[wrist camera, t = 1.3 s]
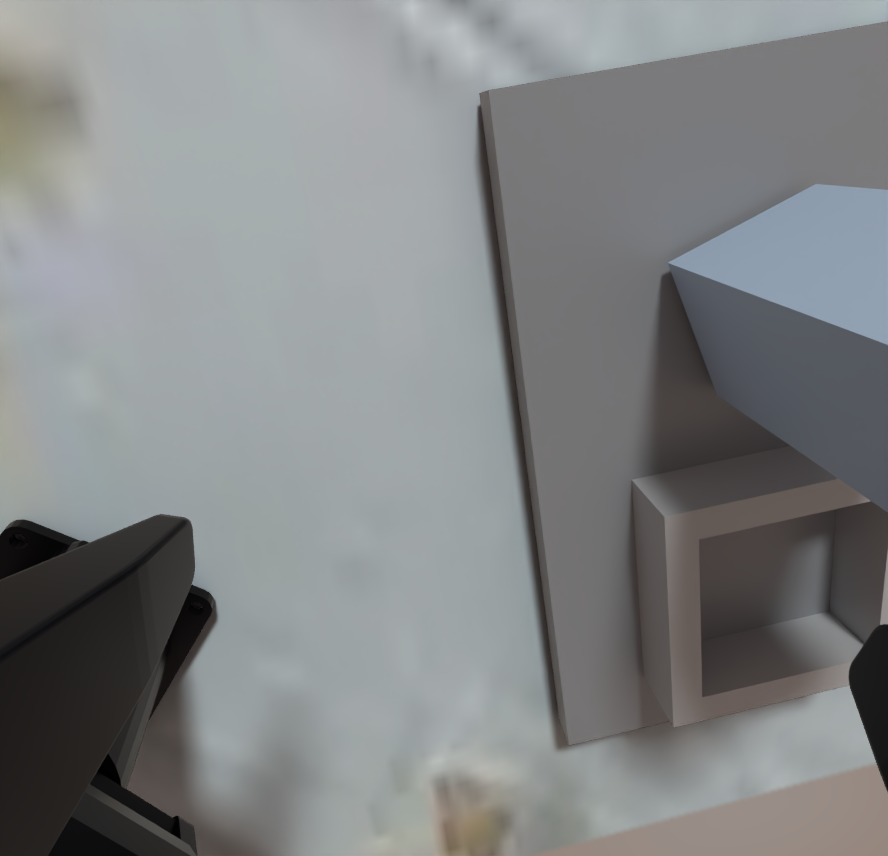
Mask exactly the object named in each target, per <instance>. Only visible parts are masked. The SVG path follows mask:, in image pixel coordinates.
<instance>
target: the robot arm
mask: <svg viewBox="0 0 888 856" xmlns="http://www.w3.org/2000/svg"><path fill="white" fill-rule="evenodd" d="M16 533H17V534H22V535H24V536H25V537H26V538H27V540H28V541H27V542H24V541H20V540H18V539H17V538H16V536H15V535H14V534H16ZM194 572H195V557H194V543H193V529H192V524H191V522H190V521H189V520H188V519H187V518H184V517H178V516H171V515H165V514H160V515H156V516H153V517H151V518H148V519H146V520H143V521H141V522H139V523H136V524H134V525H131V526H129V527H126V528H124V529H122V530H119V531H117V532H114V533H112V534H110V535H107V536H105V537H102V538H100V539H98V540H95V541H93V542H90V543H89V542H86V541H79V540H77V539H74V538H72V537H69V536H66V535H64V534H61V533H59V532H56V531H54V530H51V529H49V528H46V527H44V526H41V525H39V524H36V523H33V522H31V521H27V520H16V521H13V522H11V523H10V524H9V525H8V526H7V527H6V529H5V530H4V531H3V532H2V533H1V535H0V856H197V849H196V841H195V832H194V827H193V825H192V824H190V823H188V822H187V821H185V820H184V819H182V818H180V817H179V816H175V817H173V818H172V817H170V816H169V815H167V814H165V813H164V812H162V811H160V810H159V809H157V808H156V807H154V806H152V805H151V804H149V803H148V802H146V801H144V800H143V799H141V798H140V797H138V796H136V795H135V794H133V793H132V792H130V791H128V790H127V789H126V788H127V785H128V782H129V779H130V776H131V773H132V770H133V767H134V764H135V761H136V757H137V754H138V751H139V748H140V745H141V742H142V739H143V736H144V733H145V730H146V726H147V723H148V721H149V719H150V717H151V716H152V714H153V712H154V711H155V709H156V707H157V706H158V704H159V702H160V700H161V699H162V697H163V695H164V694H165V692H166V690H167V688H168V687H169V685H170V683H171V682H172V680H173V678H174V676H175V675H176V673H177V671H178V670H179V668H180V666H181V664H182V663H183V661H184V659H185V658H186V656H187V654H188V653H189V651H190V649H191V647H192V646H193V644H194V642H195V641H196V639H197V637H198V635H199V634H200V632H201V630H202V629H203V627H204V625H205V623H206V622H207V620H208V618H209V617H210V615H211V612H212V608H213V604H214V600H213V597H212V595H211V594H210V593H209V592H207V591H206V590H204V589H201V588H198V587H196V586H193V585H191V584H192V581H193V577H194ZM194 602H196V603H200V604H201V605H203V607H202V608H194V607H193V606H191V603H194ZM848 678H849V685H850V689H851V691H852V694H853V697H854V700H855V703H856V706H857V709H858V711H859V714H860V717H861V720H862V723H863V726H864V729H865V731H866V734H867V737H868V740H869V743H870V746H871V749H872V751H873V754H874V757H875V760H876V763H877V766H878V768H879V771H880V774H881V776H882V779H883V781H884V784H885V787H886V789H887V791H888V624H882V625H879V626H877V627H876V628H875V629H874V630H873V631H872V633H871V634H870V636H869V637H868V639H867V640H866V642H865V643H864V645H863V646H862V648H861V649H860V651H859V652H858V654H857V655H856V657H855V658H854V659H853V661H852V663H851V665H850V668H849V676H848Z"/></svg>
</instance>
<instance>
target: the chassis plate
mask: <svg viewBox="0 0 888 856" xmlns="http://www.w3.org/2000/svg"><path fill="white" fill-rule="evenodd" d="M479 94H480V102H481V110H482V118H483V126H484V134H485V141H486V149H487V157H488V165H489V173H490V181H491V188H492V196H493V204H494V212H495V220H496V228H497V236H498V243H499V251H500V259H501V267H502V275H503V283H504V290H505V298H506V306H507V314H508V322H509V330H510V338H511V345H512V353H513V361H514V369H515V377H516V385H517V393H518V400H519V408H520V416H521V424H522V432H523V440H524V447H525V455H526V463H527V471H528V479H529V487H530V495H531V502H532V510H533V518H534V526H535V534H536V542H537V549H538V557H539V565H540V573H541V581H542V589H543V597H544V604H545V612H546V620H547V628H548V636H549V644H550V651H551V659H552V667H553V675H554V683H555V691H556V699H557V706H558V714H559V721H560V724H561V727H562V729H563V732H564V734H565V737H566V739H567V742H568V745H573V744H577V743H582V742H586V741H590V740H594V739H598V738H602V737H606V736H611V735H615V734H619V733H623V732H627V731H631V730H635V729H640V728H644V727H648V726H652V725H656V724H660V723H664V722H669V721H670V723H671V724H672V726H673V728H675V727H679V726H683V725H687V724H692V723H696V722H700V721H704V720H708V719H712V718H716V717H720V716H725V715H729V714H733V713H737V712H741V711H745V710H749V709H754V708H758V707H762V706H766V705H770V704H774V703H778V702H783V701H787V700H791V699H795V698H799V697H803V696H807V695H811V694H816V693H820V692H824V691H828V690H832V689H836V688H840V687H845V686H849V678H848V676H849V668H850V665H851V663H852V661H853V659H854V658H855V657H856V655H857V654H858V652H859V651H860V649H861V648H862V646H863V645H864V643H865V642H866V640H867V639H868V637H869V636H870V634H871V633H872V631H873V630H874V629H875V628H876V627H877V626H879V625H882V624H888V512H886V511H885V510H883V509H882V508H880V507H879V506H878V505H876V504H875V503H873V502H872V501H870V500H869V499H867V498H866V497H864V496H863V495H862V494H860V493H859V492H857V491H856V490H854V489H853V488H851V487H850V486H848V485H847V484H845V483H844V482H843V481H841V480H840V479H838V478H837V477H835V476H834V475H832V474H831V473H829V472H828V471H827V470H825V469H824V468H822V467H821V466H819V465H818V464H816V463H815V462H813V461H812V460H811V459H809V458H808V457H806V456H805V455H803V454H802V453H800V452H799V451H797V450H796V449H794V448H793V447H792V446H790V445H789V444H787V443H786V442H784V441H783V440H781V439H780V438H778V437H777V436H776V435H774V434H773V433H771V432H770V431H768V430H767V429H765V428H764V427H762V426H761V425H759V424H758V423H757V422H755V421H754V420H752V419H751V418H749V417H748V416H746V415H745V414H743V413H742V412H741V411H739V410H738V409H736V408H735V407H733V406H732V405H730V404H729V403H727V402H726V401H725V400H723V399H722V398H720V397H719V396H717V394H716V391H715V388H714V386H713V383H712V380H711V378H710V375H709V372H708V370H707V367H706V364H705V362H704V359H703V356H702V354H701V351H700V348H699V346H698V343H697V340H696V338H695V335H694V332H693V330H692V327H691V324H690V322H689V319H688V316H687V314H686V311H685V308H684V305H683V303H682V300H681V297H680V295H679V292H678V289H677V287H676V284H675V281H674V279H673V276H672V273H671V271H670V268H669V265H668V262H670V261H672V260H674V259H676V258H678V257H679V256H681V255H683V254H685V253H687V252H689V251H691V250H693V249H694V248H696V247H698V246H700V245H702V244H704V243H706V242H708V241H710V240H711V239H713V238H715V237H717V236H719V235H721V234H723V233H725V232H726V231H728V230H730V229H732V228H734V227H736V226H738V225H740V224H741V223H743V222H745V221H747V220H749V219H751V218H753V217H755V216H757V215H758V214H760V213H762V212H764V211H766V210H768V209H770V208H772V207H773V206H775V205H777V204H779V203H781V202H783V201H785V200H787V199H789V198H790V197H792V196H794V195H796V194H798V193H800V192H802V191H804V190H805V189H807V188H809V187H811V186H813V185H815V184H823V185H835V186H847V187H859V188H871V189H883V190H888V22H882V23H876V24H871V25H865V26H859V27H853V28H847V29H842V30H836V31H830V32H824V33H818V34H812V35H807V36H801V37H795V38H789V39H783V40H778V41H772V42H766V43H760V44H754V45H749V46H743V47H737V48H731V49H725V50H720V51H714V52H708V53H702V54H696V55H691V56H685V57H679V58H673V59H667V60H661V61H656V62H650V63H644V64H638V65H632V66H627V67H621V68H615V69H609V70H603V71H598V72H592V73H586V74H580V75H574V76H569V77H563V78H557V79H551V80H545V81H539V82H534V83H528V84H522V85H516V86H510V87H505V88H499V89H493V90H488V91H485V92H482V93H479Z"/></svg>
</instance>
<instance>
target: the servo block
mask: <svg viewBox="0 0 888 856" xmlns="http://www.w3.org/2000/svg"><path fill="white" fill-rule="evenodd" d="M668 265H669V268H670V271H671V273H672V276H673V279H674V281H675V284H676V287H677V289H678V292H679V295H680V297H681V300H682V303H683V305H684V308H685V311H686V314H687V316H688V319H689V322H690V324H691V327H692V330H693V332H694V335H695V338H696V340H697V343H698V346H699V348H700V351H701V354H702V356H703V359H704V362H705V364H706V367H707V370H708V372H709V375H710V378H711V380H712V383H713V386H714V388H715V391H716V394H717V396H719V397H720V398H722V399H723V400H725V401H726V402H727V403H729V404H730V405H732V406H733V407H735V408H736V409H738V410H739V411H741V412H742V413H743V414H745V415H746V416H748V417H749V418H751V419H752V420H754V421H755V422H757V423H758V424H759V425H761V426H762V427H764V428H765V429H767V430H768V431H770V432H771V433H773V434H774V435H776V436H777V437H778V438H780V439H781V440H783V441H784V442H786V443H787V444H789V445H790V446H792V447H793V448H794V449H796V450H797V451H799V452H800V453H802V454H803V455H805V456H806V457H808V458H809V459H811V460H812V461H813V462H815V463H816V464H818V465H819V466H821V467H822V468H824V469H825V470H827V471H828V472H829V473H831V474H832V475H834V476H835V477H837V478H838V479H840V480H841V481H843V482H844V483H845V484H847V485H848V486H850V487H851V488H853V489H854V490H856V491H857V492H859V493H860V494H862V495H863V496H864V497H866V498H867V499H869V500H870V501H872V502H873V503H875V504H876V505H878V506H879V507H880V508H882V509H883V510H885V511H886V512H888V190H883V189H871V188H859V187H847V186H835V185H823V184H815V185H813V186H811V187H809V188H807V189H805V190H804V191H802V192H800V193H798V194H796V195H794V196H792V197H790V198H789V199H787V200H785V201H783V202H781V203H779V204H777V205H775V206H773V207H772V208H770V209H768V210H766V211H764V212H762V213H760V214H758V215H757V216H755V217H753V218H751V219H749V220H747V221H745V222H743V223H741V224H740V225H738V226H736V227H734V228H732V229H730V230H728V231H726V232H725V233H723V234H721V235H719V236H717V237H715V238H713V239H711V240H710V241H708V242H706V243H704V244H702V245H700V246H698V247H696V248H694V249H693V250H691V251H689V252H687V253H685V254H683V255H681V256H679V257H678V258H676V259H674V260H672V261H670V262H668Z"/></svg>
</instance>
